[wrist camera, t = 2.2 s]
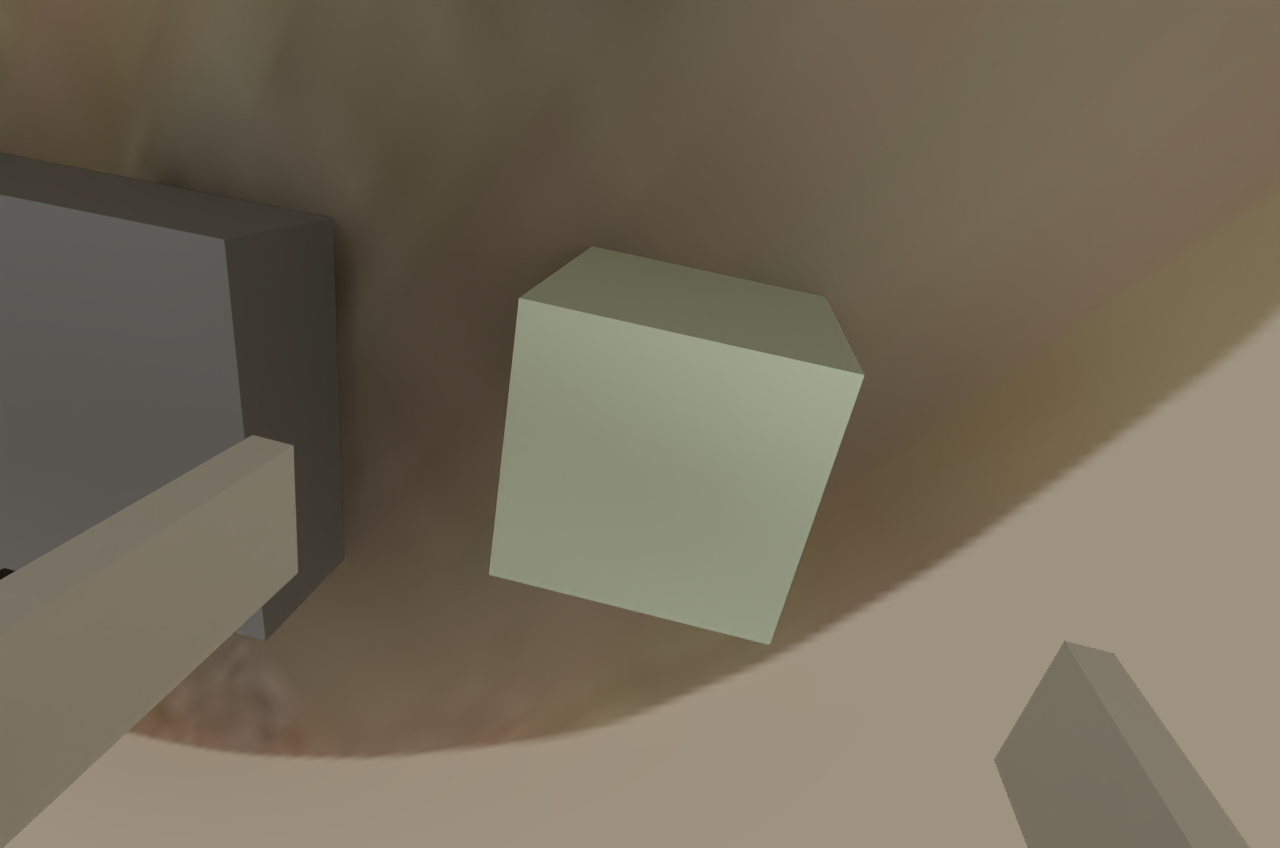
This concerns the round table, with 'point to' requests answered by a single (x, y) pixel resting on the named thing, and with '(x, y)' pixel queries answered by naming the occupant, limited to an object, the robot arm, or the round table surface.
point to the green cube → (669, 439)
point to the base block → (160, 355)
